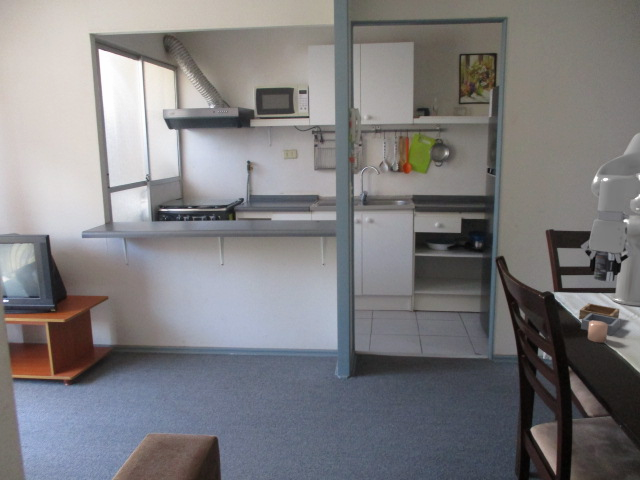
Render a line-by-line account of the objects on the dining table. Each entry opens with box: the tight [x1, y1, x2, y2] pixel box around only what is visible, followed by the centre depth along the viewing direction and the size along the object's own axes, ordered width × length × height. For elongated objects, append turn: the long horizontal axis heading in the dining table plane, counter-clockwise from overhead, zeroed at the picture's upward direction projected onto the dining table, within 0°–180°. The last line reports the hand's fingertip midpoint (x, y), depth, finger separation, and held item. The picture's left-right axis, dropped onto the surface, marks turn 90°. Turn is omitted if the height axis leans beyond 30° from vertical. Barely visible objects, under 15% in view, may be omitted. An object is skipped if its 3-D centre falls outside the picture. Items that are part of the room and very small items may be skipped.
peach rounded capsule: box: [587, 321, 608, 343], centre depth 163 cm, size 5×5×5 cm
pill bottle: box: [593, 252, 616, 283], centre depth 172 cm, size 6×6×11 cm
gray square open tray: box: [580, 313, 621, 336], centre depth 172 cm, size 9×9×3 cm
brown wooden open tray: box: [578, 302, 620, 320], centre depth 181 cm, size 10×10×3 cm
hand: (604, 272), depth 173 cm, fingers closed on pill bottle, 6 cm apart
